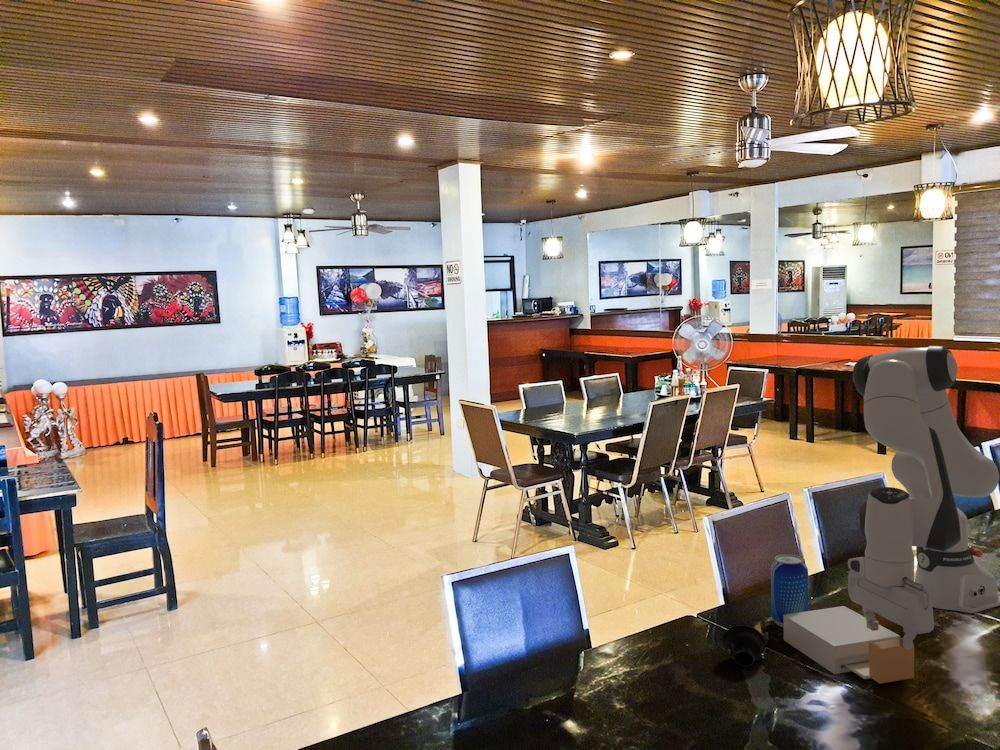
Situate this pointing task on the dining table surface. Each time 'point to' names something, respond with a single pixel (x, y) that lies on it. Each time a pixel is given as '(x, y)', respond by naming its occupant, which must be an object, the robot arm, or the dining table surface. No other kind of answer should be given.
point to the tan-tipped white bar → (886, 662)
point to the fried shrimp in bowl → (745, 643)
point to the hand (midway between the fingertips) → (888, 638)
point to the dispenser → (833, 636)
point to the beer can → (788, 587)
